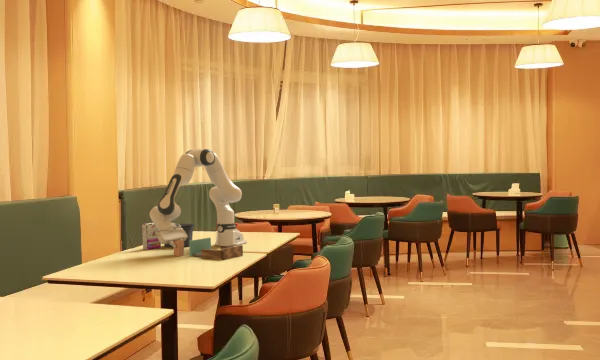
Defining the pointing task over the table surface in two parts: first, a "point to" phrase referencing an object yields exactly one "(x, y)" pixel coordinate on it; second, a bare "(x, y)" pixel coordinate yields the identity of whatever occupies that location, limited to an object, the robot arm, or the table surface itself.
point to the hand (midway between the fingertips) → (179, 246)
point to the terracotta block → (179, 248)
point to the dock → (223, 252)
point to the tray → (199, 246)
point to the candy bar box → (150, 236)
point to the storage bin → (189, 231)
